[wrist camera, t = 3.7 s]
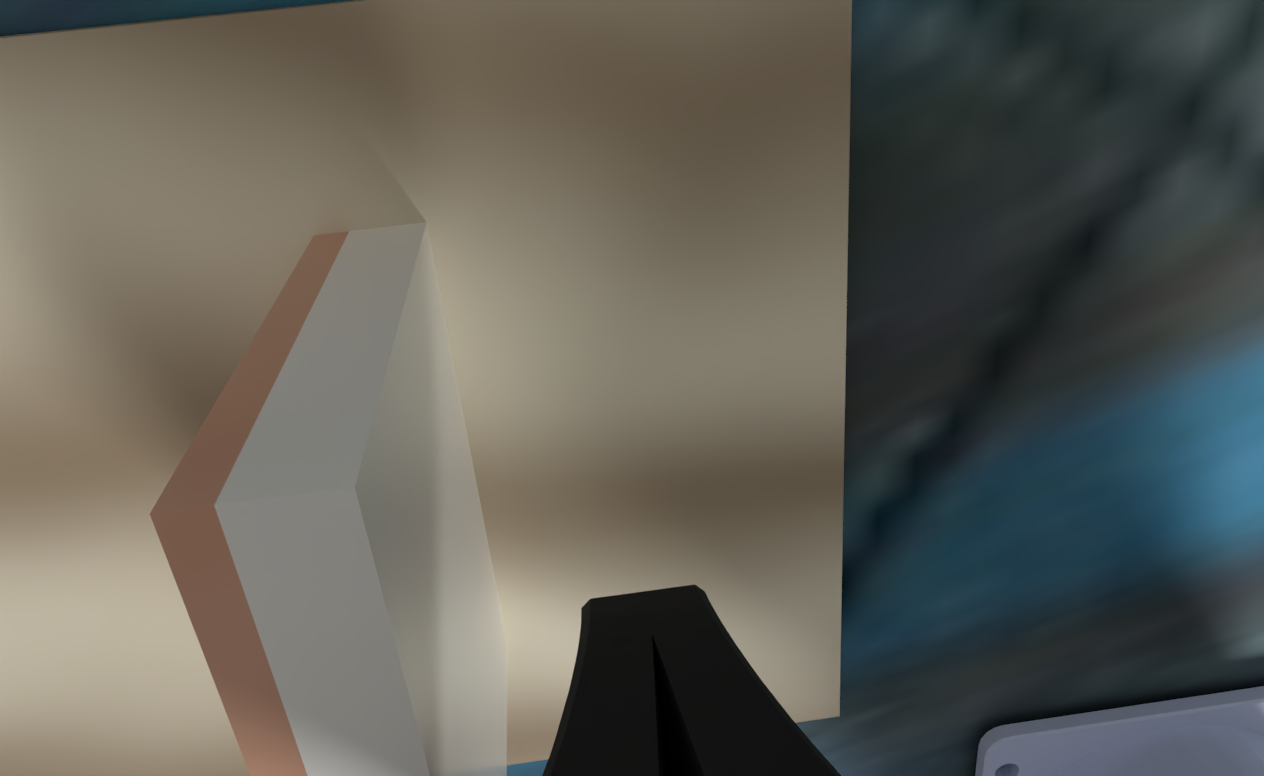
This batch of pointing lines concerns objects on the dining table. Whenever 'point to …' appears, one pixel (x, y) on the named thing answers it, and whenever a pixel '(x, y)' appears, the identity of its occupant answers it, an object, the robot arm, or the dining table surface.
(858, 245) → the dining table surface
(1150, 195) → the dining table surface
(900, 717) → the dining table surface
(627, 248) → the mat
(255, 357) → the tile
